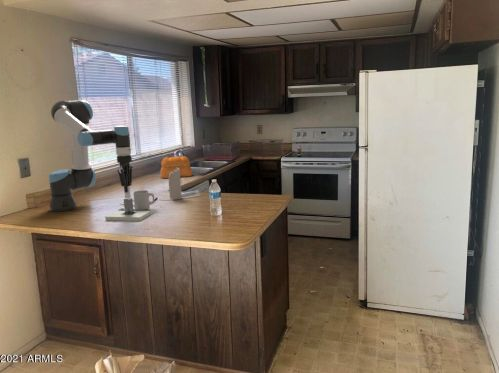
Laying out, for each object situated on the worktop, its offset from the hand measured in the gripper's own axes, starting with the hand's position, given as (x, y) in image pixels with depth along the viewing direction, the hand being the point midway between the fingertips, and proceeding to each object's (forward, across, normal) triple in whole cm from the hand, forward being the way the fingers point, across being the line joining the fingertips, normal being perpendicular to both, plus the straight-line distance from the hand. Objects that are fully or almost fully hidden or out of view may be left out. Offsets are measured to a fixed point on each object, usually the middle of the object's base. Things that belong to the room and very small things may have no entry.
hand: (127, 197), depth 232 cm
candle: (+11, +44, -7) cm, 46 cm away
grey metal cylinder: (+11, 0, 0) cm, 11 cm away
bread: (+11, +129, +21) cm, 131 cm away
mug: (+11, +16, -2) cm, 20 cm away
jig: (+11, 0, 0) cm, 11 cm away
